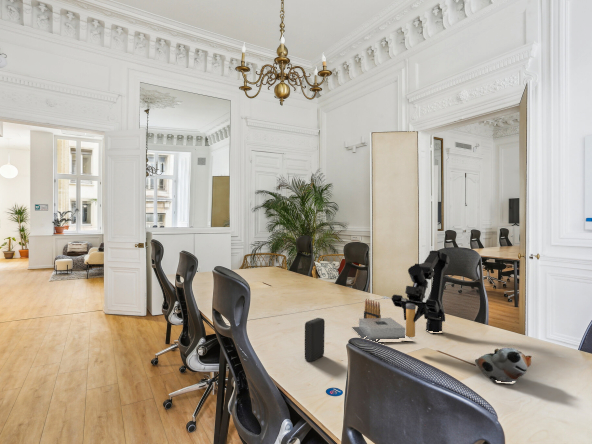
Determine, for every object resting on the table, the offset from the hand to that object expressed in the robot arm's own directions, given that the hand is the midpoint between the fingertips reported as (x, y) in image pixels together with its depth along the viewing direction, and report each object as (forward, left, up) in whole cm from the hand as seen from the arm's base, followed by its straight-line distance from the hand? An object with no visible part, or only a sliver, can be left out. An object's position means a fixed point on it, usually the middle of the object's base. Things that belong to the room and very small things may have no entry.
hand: (409, 320), depth 140 cm
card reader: (+40, +1, -14) cm, 42 cm away
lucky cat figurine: (-22, +25, -14) cm, 36 cm away
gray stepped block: (+3, -23, -13) cm, 27 cm away
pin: (-1, -1, -7) cm, 7 cm away
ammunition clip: (0, -43, -14) cm, 45 cm away
